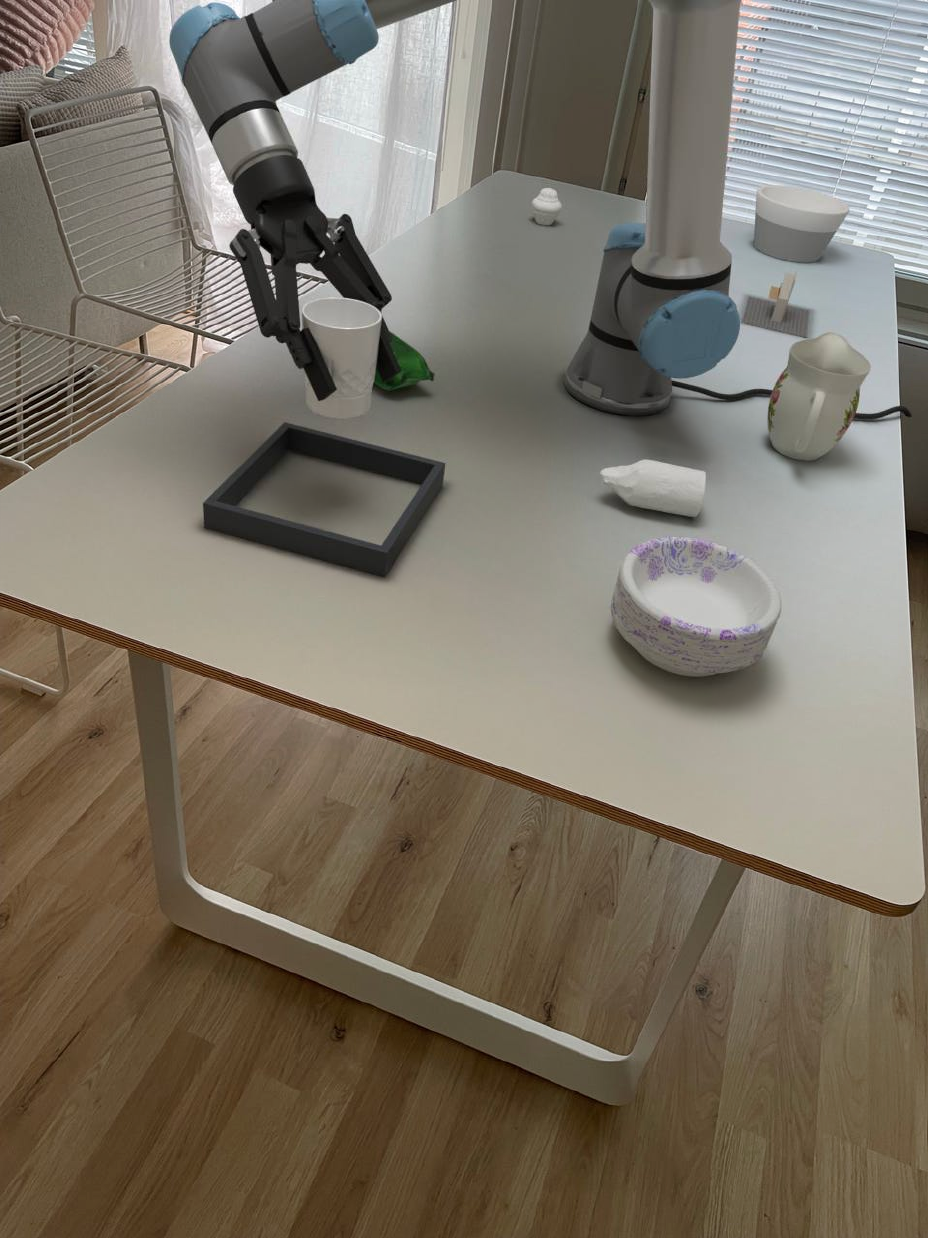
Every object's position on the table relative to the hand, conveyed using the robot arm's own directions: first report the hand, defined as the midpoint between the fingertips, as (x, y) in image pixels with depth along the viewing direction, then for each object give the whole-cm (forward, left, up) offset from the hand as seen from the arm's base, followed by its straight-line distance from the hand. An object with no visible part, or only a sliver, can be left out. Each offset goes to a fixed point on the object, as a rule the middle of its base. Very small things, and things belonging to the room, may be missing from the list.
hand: (360, 385), depth 98 cm
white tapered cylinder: (-31, -17, -15) cm, 38 cm away
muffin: (+4, -120, -15) cm, 121 cm away
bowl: (-46, -137, -15) cm, 146 cm away
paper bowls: (-38, +9, -15) cm, 41 cm away
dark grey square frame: (+2, +1, -15) cm, 15 cm away
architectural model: (-45, -94, -15) cm, 105 cm away
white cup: (+3, -2, -4) cm, 5 cm away
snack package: (+8, -33, -15) cm, 37 cm away
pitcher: (-48, -41, -15) cm, 65 cm away
